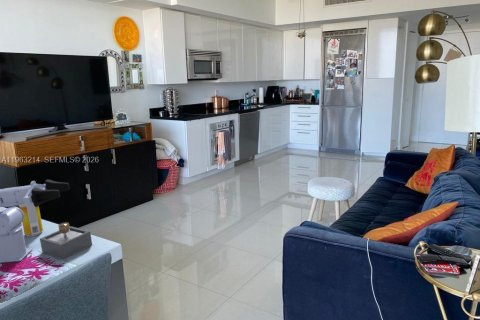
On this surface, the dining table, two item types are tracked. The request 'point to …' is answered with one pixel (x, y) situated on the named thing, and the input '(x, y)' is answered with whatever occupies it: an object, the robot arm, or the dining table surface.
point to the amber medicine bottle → (31, 220)
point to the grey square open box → (66, 244)
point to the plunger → (64, 234)
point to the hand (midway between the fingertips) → (64, 189)
